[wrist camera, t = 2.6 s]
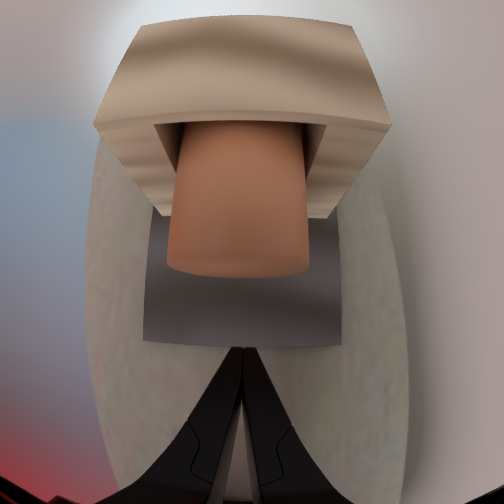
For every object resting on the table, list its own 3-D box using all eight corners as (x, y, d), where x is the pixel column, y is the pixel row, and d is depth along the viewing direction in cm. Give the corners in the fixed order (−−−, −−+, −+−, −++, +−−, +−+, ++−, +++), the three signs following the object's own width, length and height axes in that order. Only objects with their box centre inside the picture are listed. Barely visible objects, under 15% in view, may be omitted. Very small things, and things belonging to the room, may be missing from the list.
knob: (296, 279, 15) (326, 252, 9) (184, 276, 15) (145, 249, 9) (292, 163, 17) (310, 96, 11) (194, 162, 17) (173, 95, 11)
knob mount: (336, 343, 19) (439, 365, 7) (147, 339, 19) (38, 353, 7) (322, 129, 23) (360, 21, 11) (171, 128, 23) (133, 21, 11)
